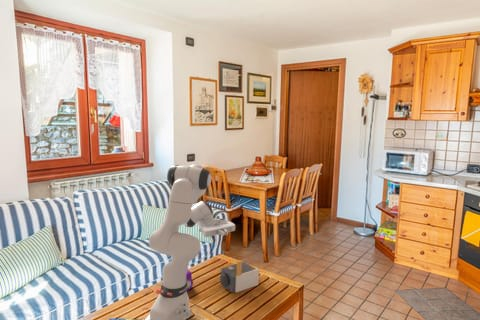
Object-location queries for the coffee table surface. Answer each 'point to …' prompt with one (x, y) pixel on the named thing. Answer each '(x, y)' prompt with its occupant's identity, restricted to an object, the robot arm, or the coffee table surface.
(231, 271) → the gray box camera
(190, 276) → the toy camera
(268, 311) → the coffee table surface
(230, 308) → the coffee table surface
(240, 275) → the thin white panel
